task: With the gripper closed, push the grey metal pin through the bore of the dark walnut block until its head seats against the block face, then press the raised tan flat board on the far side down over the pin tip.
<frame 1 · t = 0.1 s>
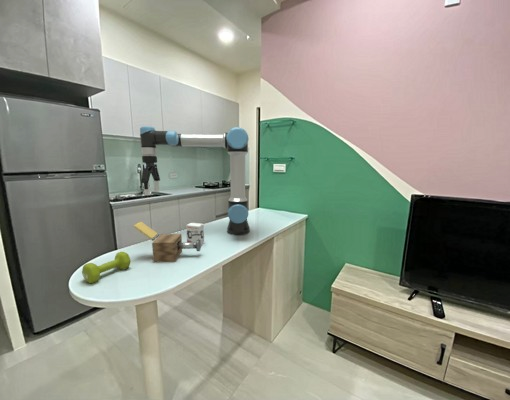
hand: (152, 193, 128), 28 cm above the table, fingers open, 13 cm apart
dumbbell: (108, 274, 92), on the table
tan flat board: (146, 230, 106), point 13 cm above the table, hinge at -40.0°
pin: (187, 245, 109), point 5 cm above the table, slide at 9.0 cm
ink box: (195, 244, 126), on the table
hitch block: (168, 256, 109), on the table
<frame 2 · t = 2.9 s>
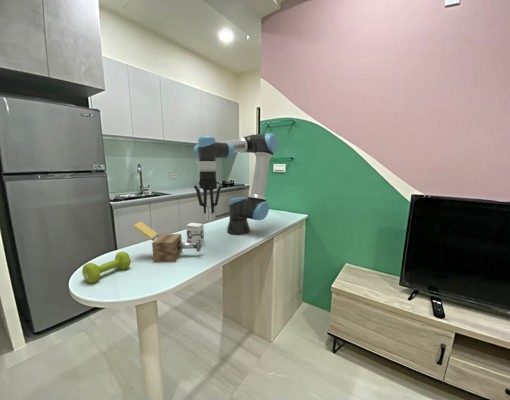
hand: (209, 219, 107), 18 cm above the table, fingers closed
nothing on the table moved.
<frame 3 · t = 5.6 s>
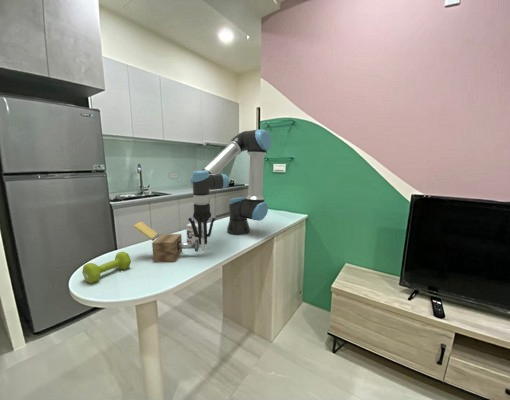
hand: (203, 250, 110), 3 cm above the table, fingers closed
pin: (185, 245, 109), point 5 cm above the table, slide at 8.1 cm, touching gripper
everything else where it was.
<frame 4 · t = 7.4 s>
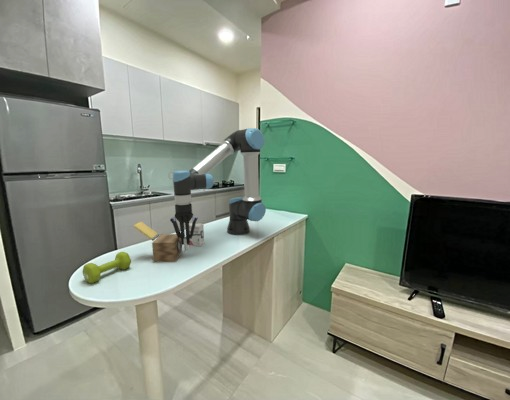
hand: (186, 250, 109), 3 cm above the table, fingers closed
pin: (168, 246, 108), point 5 cm above the table, slide at -0.1 cm, touching gripper, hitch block
everything else where it was.
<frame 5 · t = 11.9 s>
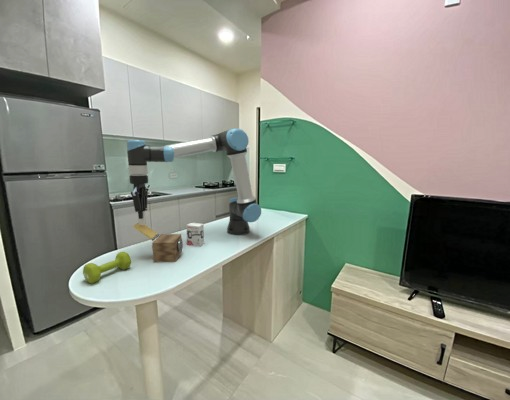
hand: (142, 224, 106), 16 cm above the table, fingers closed
tan flat board: (146, 230, 106), point 13 cm above the table, hinge at -39.4°, touching gripper
pin: (168, 246, 108), point 5 cm above the table, slide at 0.0 cm
everything else where it was.
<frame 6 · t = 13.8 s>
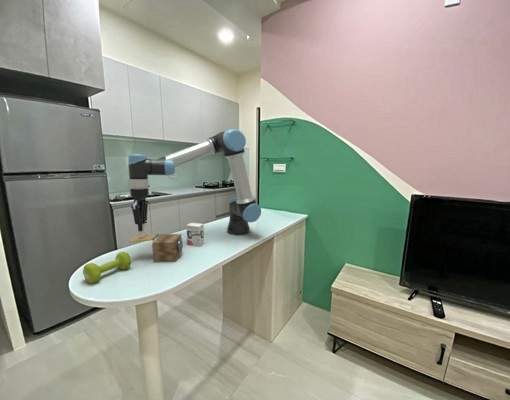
hand: (142, 236, 106), 10 cm above the table, fingers closed
tan flat board: (144, 238, 107), point 10 cm above the table, hinge at 3.9°, touching gripper
everything else where it was.
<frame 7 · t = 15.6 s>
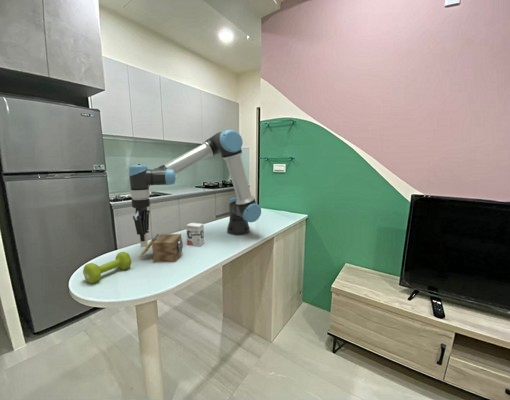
hand: (144, 246, 107), 5 cm above the table, fingers closed
tan flat board: (149, 245, 108), point 6 cm above the table, hinge at 52.4°, touching gripper
everything else where it was.
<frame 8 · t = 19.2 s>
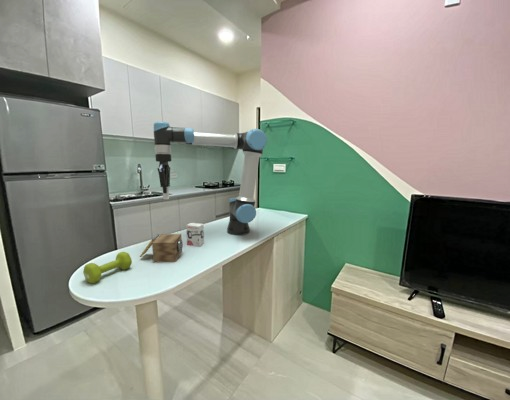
hand: (166, 199, 118), 26 cm above the table, fingers closed
tan flat board: (149, 245, 108), point 6 cm above the table, hinge at 52.5°
everything else where it was.
at the end: pin slide at 0.0 cm; tan flat board at +52° (first picture: -40°) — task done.
